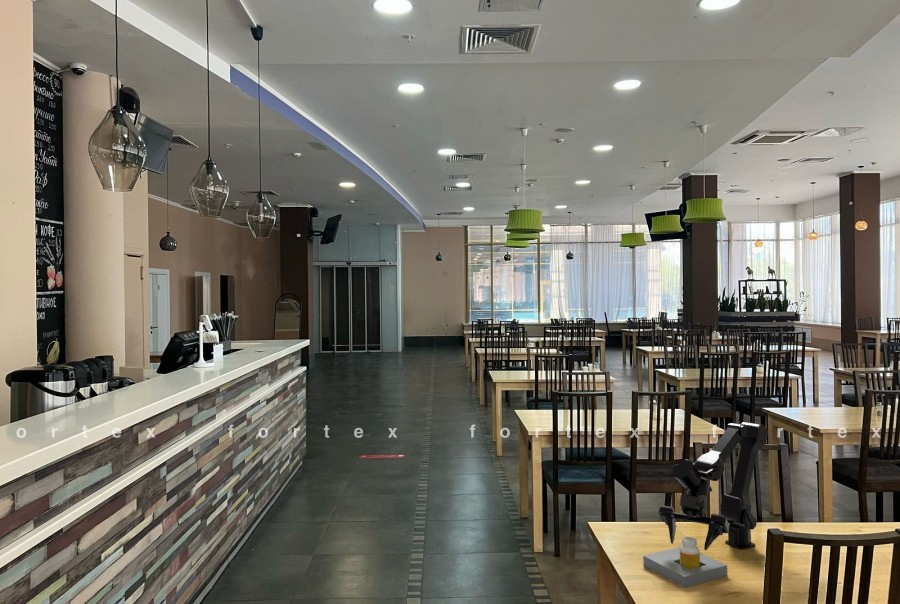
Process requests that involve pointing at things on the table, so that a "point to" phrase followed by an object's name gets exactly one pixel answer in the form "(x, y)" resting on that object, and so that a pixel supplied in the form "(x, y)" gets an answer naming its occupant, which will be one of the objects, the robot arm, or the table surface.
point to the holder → (684, 568)
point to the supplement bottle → (689, 553)
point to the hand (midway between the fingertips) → (688, 546)
